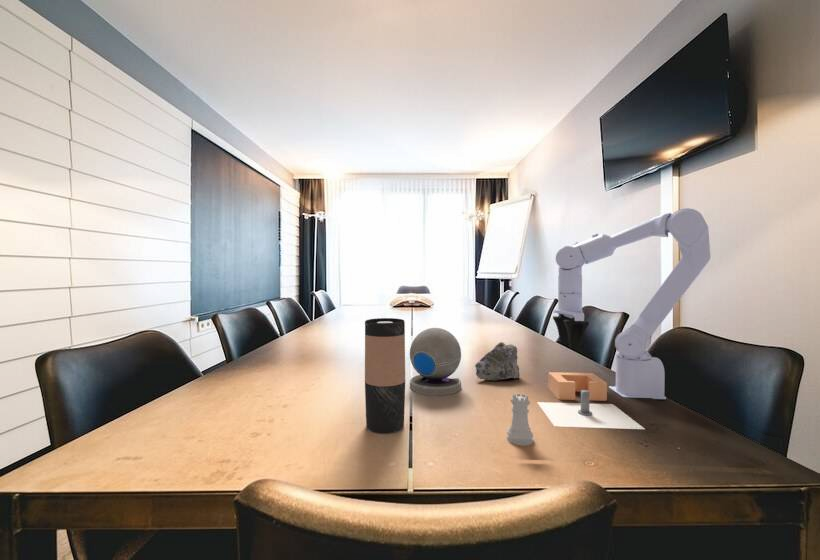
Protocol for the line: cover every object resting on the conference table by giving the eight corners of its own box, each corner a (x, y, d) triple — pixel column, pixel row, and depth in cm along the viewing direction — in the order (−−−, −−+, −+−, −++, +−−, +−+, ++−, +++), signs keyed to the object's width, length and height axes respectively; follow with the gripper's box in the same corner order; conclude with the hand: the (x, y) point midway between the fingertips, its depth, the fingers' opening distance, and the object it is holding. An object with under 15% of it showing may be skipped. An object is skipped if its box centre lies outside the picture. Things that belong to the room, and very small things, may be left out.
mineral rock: (476, 384, 98) (476, 346, 97) (470, 373, 108) (470, 338, 108) (526, 384, 97) (526, 346, 97) (515, 373, 108) (515, 338, 108)
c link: (606, 400, 84) (606, 383, 83) (558, 399, 84) (558, 381, 84) (591, 389, 92) (592, 373, 92) (548, 388, 93) (548, 372, 93)
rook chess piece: (535, 449, 62) (535, 401, 61) (507, 447, 63) (507, 399, 62) (532, 437, 66) (532, 392, 66) (505, 435, 67) (506, 391, 67)
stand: (612, 406, 81) (612, 383, 81) (645, 431, 68) (645, 404, 68) (536, 404, 83) (537, 381, 82) (554, 429, 70) (554, 402, 70)
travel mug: (410, 420, 74) (410, 318, 73) (396, 437, 66) (396, 324, 66) (375, 416, 76) (374, 317, 76) (357, 431, 69) (357, 322, 68)
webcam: (469, 384, 97) (469, 326, 97) (446, 398, 87) (446, 333, 86) (425, 377, 104) (425, 323, 104) (399, 389, 93) (399, 329, 93)
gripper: (546, 291, 106) (546, 340, 106) (563, 295, 91) (562, 350, 91) (572, 291, 105) (572, 340, 105) (593, 295, 90) (592, 351, 91)
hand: (569, 345), depth 98 cm, fingers open, 7 cm apart
